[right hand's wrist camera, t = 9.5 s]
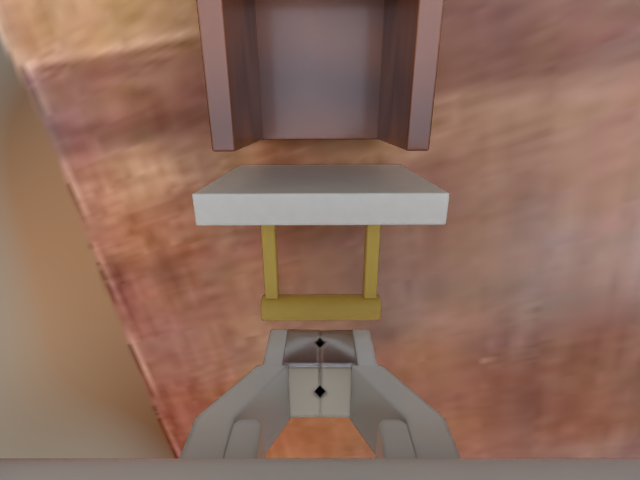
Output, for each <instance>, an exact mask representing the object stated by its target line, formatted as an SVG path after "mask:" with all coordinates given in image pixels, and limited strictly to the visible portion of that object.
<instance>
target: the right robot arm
mask: <svg viewBox="0 0 640 480" xmlns="http://www.w3.org/2000/svg"><path fill="white" fill-rule="evenodd" d="M290 417H350V420H351V421H352V423H353V424H354V425H355V427H356V428H357V430H358V431H359V432H360V434H361V435H362V437H363V438H364V439H365V441H366V442H367V444H368V445H369V446H370V448H371V449H372V451H373V452H374V453H375V455H376V457H375V458H348V459H265V456H264V455H265V454H266V452H267V451H268V449H269V448H270V447H271V445H272V444H273V442H274V441H275V440H276V438H277V437H278V435H279V434H280V433H281V431H282V430H283V428H284V427H285V426H286V424H287V423H288V422H289V420H290ZM0 480H640V458H533V459H461V458H460V455H459V453H458V450H457V448H456V445H455V443H454V440H453V438H452V435H451V433H450V430H449V428H448V425H447V423H446V420H445V418H444V417H443V416H441V415H440V414H439V413H438V412H437V411H436V410H434V409H433V408H432V407H431V406H430V405H428V404H427V403H426V402H425V401H424V400H423V399H421V398H420V397H419V396H418V395H417V394H415V393H414V392H413V391H412V390H411V389H410V388H408V387H407V386H406V385H405V384H404V383H403V382H401V381H400V380H399V379H398V378H397V377H395V376H394V375H393V374H392V373H391V372H390V371H388V370H387V369H386V368H385V367H384V366H382V365H377V361H376V357H375V352H374V348H373V344H372V339H371V335H370V331H369V330H368V329H352V330H300V329H288V330H287V329H272V330H271V331H270V334H269V339H268V343H267V348H266V352H265V357H264V361H263V365H258V366H256V367H255V368H254V369H253V370H252V371H250V372H249V373H248V374H247V375H246V376H245V377H243V378H242V379H241V380H240V381H239V382H237V383H236V384H235V385H234V386H233V387H231V388H230V389H229V390H228V391H227V392H226V393H224V394H223V395H222V396H221V397H220V398H218V399H217V400H216V401H215V402H214V403H213V404H211V405H210V406H209V407H208V408H207V409H205V410H204V411H203V412H202V413H201V414H199V415H198V416H197V417H196V418H195V421H194V423H193V426H192V428H191V431H190V433H189V435H188V438H187V440H186V443H185V445H184V448H183V450H182V453H181V455H180V458H179V459H0Z"/></svg>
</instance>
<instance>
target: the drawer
mask: <svg viewBox="0 0 640 480" xmlns="http://www.w3.org/2000/svg"><path fill="white" fill-rule="evenodd" d="M196 2H197V11H198V20H199V30H200V39H201V48H202V58H203V67H204V76H205V85H206V95H207V104H208V113H209V123H210V132H211V141H212V150H213V151H236V150H238V149H241V148H243V147H245V146H248V145H250V144H253V143H255V142H257V141H260V140H301V139H379V140H382V141H384V142H387V143H389V144H392V145H395V146H397V147H400V148H402V149H405V150H407V151H427V150H429V144H430V134H431V125H432V115H433V105H434V96H435V86H436V76H437V66H438V57H439V47H440V37H441V28H442V18H443V8H444V0H196ZM192 197H193V205H194V212H195V220H196V225H198V226H227V225H261V238H262V253H263V269H264V284H265V295H263V297H262V300H261V317H262V320H264V321H281V320H379V319H380V317H381V301H380V297H379V295H378V294H377V279H378V262H379V246H380V229H381V225H444V224H445V223H446V218H447V210H448V202H449V193H448V192H446V191H445V190H443V189H441V188H439V187H438V186H436V185H434V184H433V183H431V182H429V181H428V180H426V179H424V178H423V177H421V176H419V175H418V174H416V173H414V172H413V171H411V170H409V169H407V168H406V167H404V166H402V165H401V164H367V165H239V166H237V167H236V168H234V169H232V170H231V171H229V172H228V173H226V174H224V175H223V176H221V177H219V178H218V179H216V180H215V181H213V182H211V183H210V184H208V185H207V186H205V187H203V188H202V189H200V190H198V191H197V192H195V193H194V194H193V195H192ZM276 225H365V246H364V269H363V291H362V293H363V294H326V295H279V276H278V256H277V236H276Z"/></svg>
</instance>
